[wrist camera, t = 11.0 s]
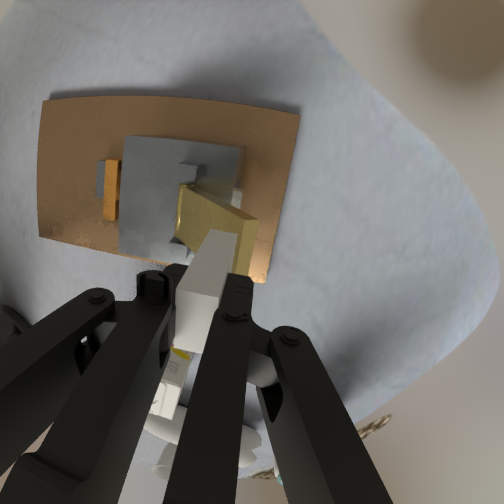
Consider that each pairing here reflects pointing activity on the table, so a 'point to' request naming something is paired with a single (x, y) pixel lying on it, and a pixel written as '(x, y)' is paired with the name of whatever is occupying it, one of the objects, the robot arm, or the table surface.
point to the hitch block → (158, 170)
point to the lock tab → (214, 223)
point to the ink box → (171, 383)
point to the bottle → (173, 428)
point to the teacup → (165, 462)
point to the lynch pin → (113, 190)
